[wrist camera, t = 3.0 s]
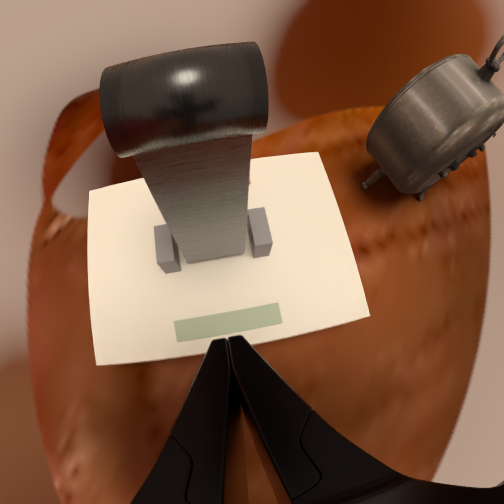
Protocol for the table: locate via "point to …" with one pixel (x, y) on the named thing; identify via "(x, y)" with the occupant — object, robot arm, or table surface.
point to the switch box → (220, 269)
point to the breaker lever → (191, 137)
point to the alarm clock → (436, 122)
